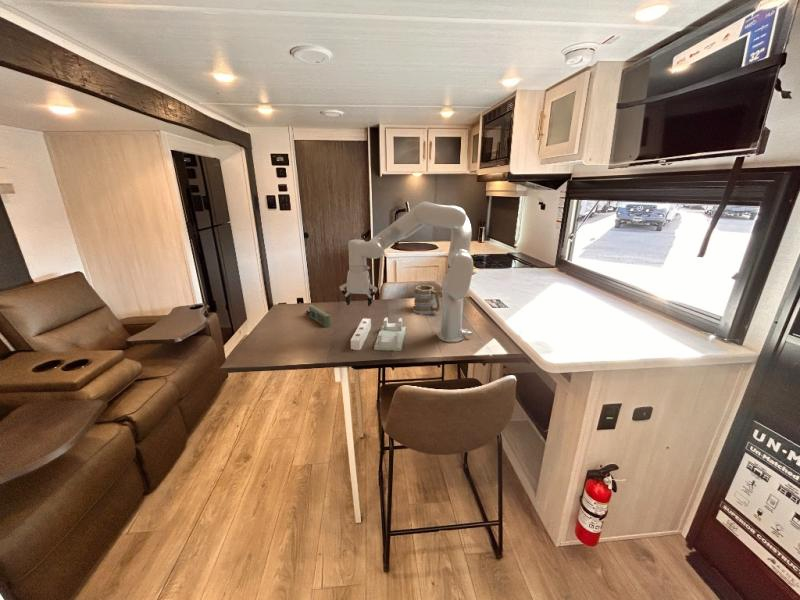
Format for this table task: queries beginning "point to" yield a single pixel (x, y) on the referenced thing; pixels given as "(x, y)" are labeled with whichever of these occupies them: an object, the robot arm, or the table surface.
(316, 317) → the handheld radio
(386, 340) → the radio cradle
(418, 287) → the tankard
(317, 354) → the table surface
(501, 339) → the table surface
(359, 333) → the power strip
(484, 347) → the table surface
